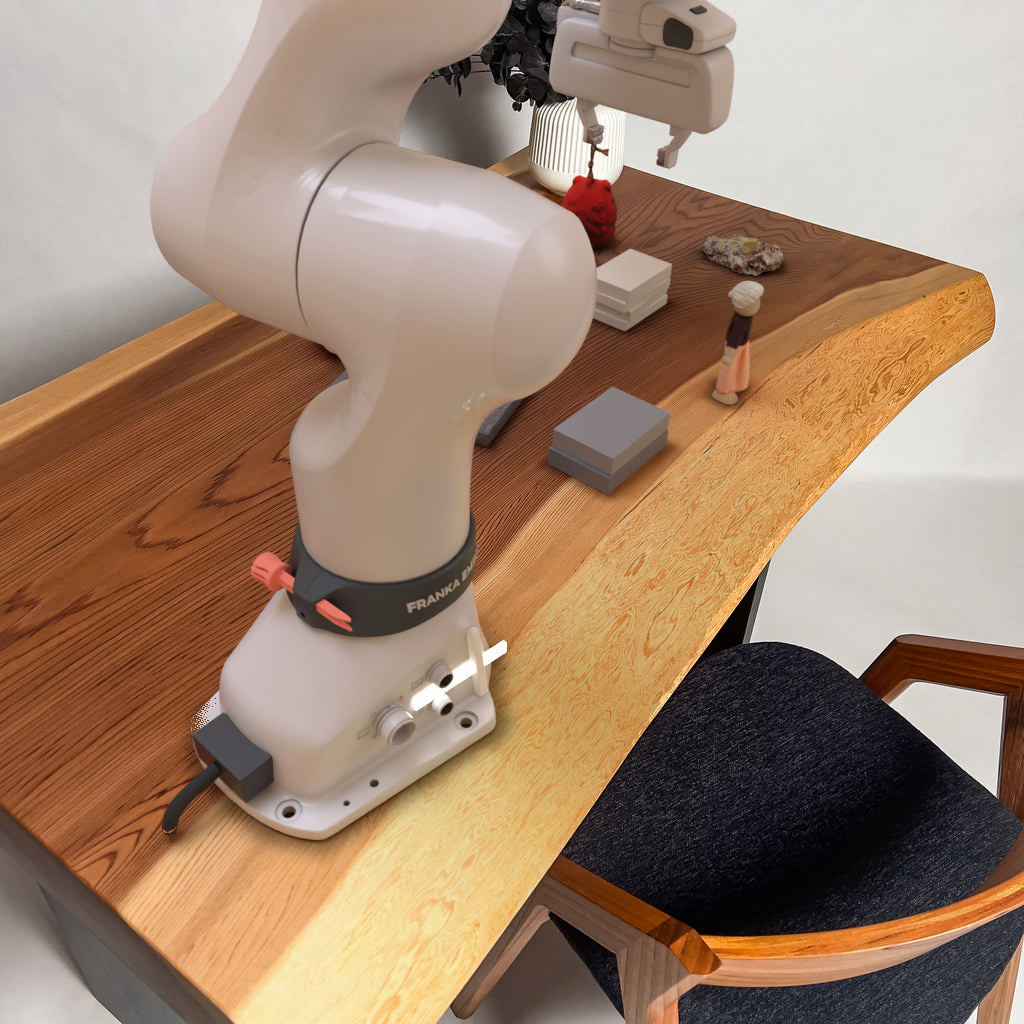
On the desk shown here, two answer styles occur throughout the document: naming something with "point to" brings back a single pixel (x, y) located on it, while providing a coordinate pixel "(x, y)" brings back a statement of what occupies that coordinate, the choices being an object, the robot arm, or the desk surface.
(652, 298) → the white stack
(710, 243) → the mineral rock
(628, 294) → the white flat block
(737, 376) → the grandmother figurine
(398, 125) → the robot arm
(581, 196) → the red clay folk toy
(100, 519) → the desk surface
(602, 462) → the grey stack
